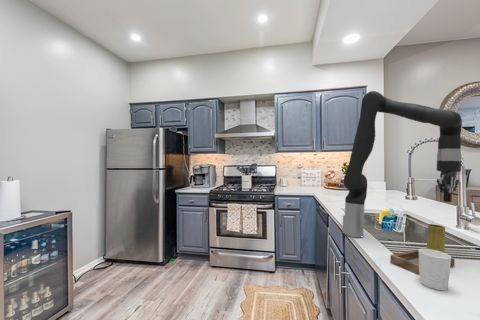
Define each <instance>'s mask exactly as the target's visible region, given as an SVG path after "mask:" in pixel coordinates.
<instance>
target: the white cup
mask: <svg viewBox="0 0 480 320" xmlns="http://www.w3.org/2000/svg"><path fill="white" fill-rule="evenodd" d="M418 249H419V273H420V275H419V282H420V283H421V284H422V285H424V286H426V287H427V288H430V289H433V290H437V291H447V290H448V288H449V280H450V276H451V275H450V273H451V268H450V265H451V258H452V255H449V254H447V253H446V252H445V253H443V252H440V251H436V250H431V249H426V248H418Z"/></svg>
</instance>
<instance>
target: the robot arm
mask: <svg viewBox="0 0 480 320" xmlns="http://www.w3.org/2000/svg"><path fill="white" fill-rule="evenodd" d="M378 113H384V114H389V115H395V116H398V117H401V118H404V119H408V120H411V121H415V122H419V123H423V124H431V125H433V126H438V127H439V137H438V141H437V152H436V153H437V154H436V169H435V170H436V171H437V172H440V175H439V178H436V183H437V185H438V188H439V190H440V192H442V193H443V198H442V199H443V200H442V201H443V202H445V203H451V202H452V200H453V199H452V198H453V193H454V192H456V190H457V187H458V185H459V183H460V180H459V179H457V173H460V172H461V171H462V151H461V150H462V149H461V148H462V147H461V146H462V141H461V140H462V139H461V138H462V137H461V134H462V133H461V132H462V125H463V123H462V122H463V120H462V116H461V115H460V114H459V112H456V111H453V110H449V109H442V108H435V107H431V106H426V105H421V104H417V103H410V102H402V101H396V100H394V99H390V98H389V97H388V98H387V97H385V96H384V95H383V94H382V93H380V92H378V91H376V90H371V91H368V92H367V93H365V95H364V96H363V97H362V100H361V106H360V114H359V115H360V116H359V121H358V125H357V127H356V128H357V129H356V131H355V135H354V140H353V144H352V148H351V149H352V150H351V154H350V158H349V162H348V166H347V169H346V171H345V174H344V177H343V185H344V187H345V189H347V191H348V193H347V195H346V196H345V198H344V199H345V203H344V215H342V234H343V235H345V236H348V237H350V238H355V237H361V236H363V237H364V231H365V230H364V228H365V203H366V200H367V193H368V192H367V191H368V179H367V177H366V176H365V175H364V174H363V168H364V166H365V164H366V162H367V160H368V158H369V157H370V155H371V153H372V151H373V148H374V145H375V141H376V118H377V114H378Z"/></svg>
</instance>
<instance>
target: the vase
mask: <svg viewBox="0 0 480 320" xmlns="http://www.w3.org/2000/svg"><path fill="white" fill-rule="evenodd" d="M426 238H427V239H426V248H425V249H431V250H436V251H440V252H443V253H446V248H445V247H446V227H445V226H443V225H441V224H434V223H429V224H427V236H426Z"/></svg>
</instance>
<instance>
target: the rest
mask: <svg viewBox="0 0 480 320" xmlns="http://www.w3.org/2000/svg"><path fill="white" fill-rule="evenodd" d="M419 249H420V248H418V249H414V250H410V251H409V250H408V251H405V252H400V253H399V252H398V253H394V254H390V261H389V262H390V264H392V265H395V266H397V267H400V268H402V269H405V270H406V271H409V272H411V273H414V274H417V275H419V276H420V273H419ZM455 262H456V260H455V258H453V257H451V265H450V269H452V268H454V267H455ZM453 266H454V267H453ZM451 267H452V268H451Z"/></svg>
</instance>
